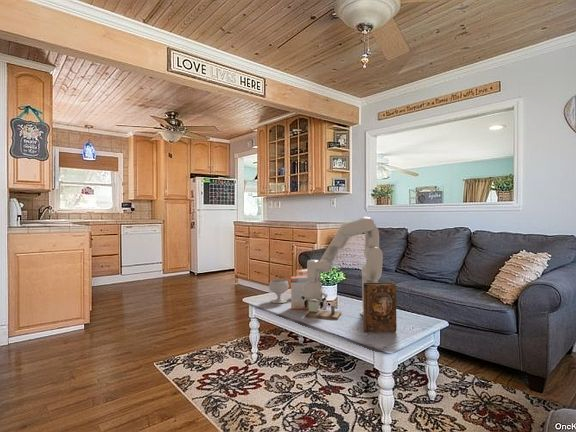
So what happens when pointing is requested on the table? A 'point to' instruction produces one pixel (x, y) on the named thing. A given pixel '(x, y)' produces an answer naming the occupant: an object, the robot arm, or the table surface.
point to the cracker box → (298, 292)
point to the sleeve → (314, 306)
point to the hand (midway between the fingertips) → (313, 307)
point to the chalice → (278, 289)
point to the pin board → (325, 314)
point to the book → (379, 307)
